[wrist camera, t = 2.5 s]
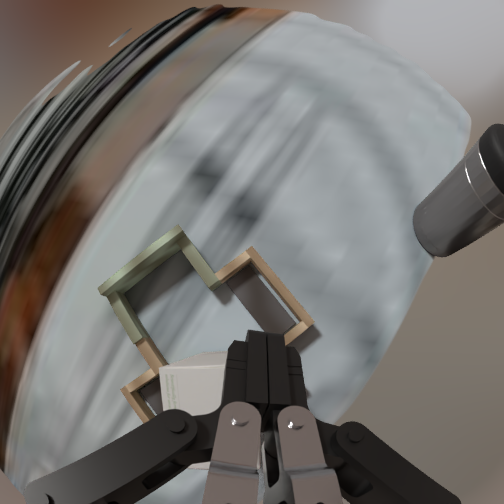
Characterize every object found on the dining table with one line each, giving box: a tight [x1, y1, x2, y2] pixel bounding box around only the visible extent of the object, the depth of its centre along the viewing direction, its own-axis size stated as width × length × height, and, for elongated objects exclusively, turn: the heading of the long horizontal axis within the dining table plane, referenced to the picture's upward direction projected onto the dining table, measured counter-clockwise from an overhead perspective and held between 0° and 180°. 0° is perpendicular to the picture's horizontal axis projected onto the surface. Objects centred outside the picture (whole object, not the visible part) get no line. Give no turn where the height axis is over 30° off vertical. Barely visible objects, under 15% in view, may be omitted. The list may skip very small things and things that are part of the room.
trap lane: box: [98, 224, 314, 423], centre depth 30 cm, size 24×24×4 cm
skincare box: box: [159, 351, 261, 470], centre depth 23 cm, size 8×7×16 cm
